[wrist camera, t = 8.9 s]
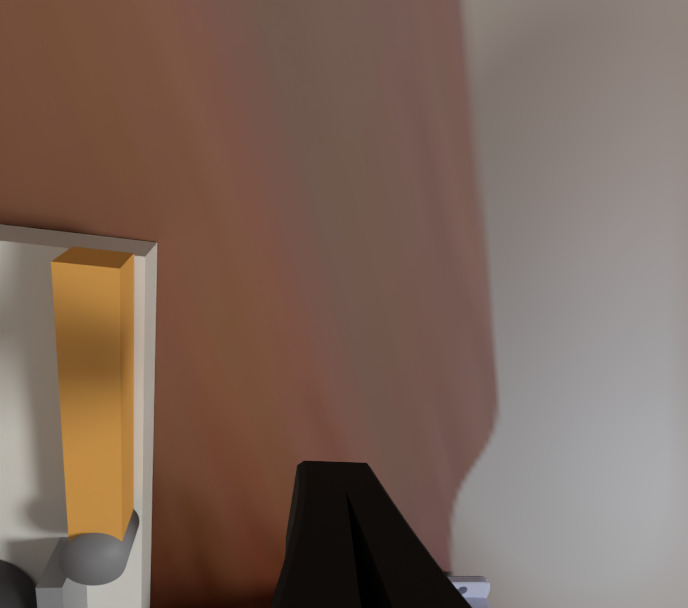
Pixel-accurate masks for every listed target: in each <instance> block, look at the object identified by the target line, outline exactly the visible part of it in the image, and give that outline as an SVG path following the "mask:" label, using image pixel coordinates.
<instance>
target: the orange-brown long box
mask: <svg viewBox="0 0 688 608" xmlns="http://www.w3.org/2000/svg"><path fill="white" fill-rule="evenodd" d="M51 269H52V285H53V301H54V317H55V333H56V349H57V364H58V380H59V396H60V412H61V428H62V443H63V459H64V475H65V491H66V507H67V523H68V538H69V539H68V541H67V543H66V545H65V548H64V550H63V552H62V554H61V556H60V559H59V566H60V569H61V571H62V573H63V574H64V575H65V576H66V577H67V578H69V579H70V580H72V581H74V582H76V583H79V584H83V585H89V586H96V585H104V584H107V583H110V582H112V581H114V580H116V579H117V578H119V577H120V576H121V575H122V574H123V572H124V570H125V568H126V565H127V561H128V558H129V555H130V552H131V549H132V546H133V543H134V539H135V536H136V533H137V530H138V527H139V516H138V514H137V512H136V511H135V510H134V253H128V252H119V251H110V250H101V249H92V248H82V247H71V248H70V249H68V250H67V251H65V252H64V253H63V254H61V255H60V256H58V257H57V258H55V259H54V260H52V261H51Z"/></svg>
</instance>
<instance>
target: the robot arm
mask: <svg viewBox="0 0 688 608" xmlns="http://www.w3.org/2000/svg"><path fill="white" fill-rule="evenodd" d="M489 590H490V584H489V582H488V580H487V578H485V577H483V576H451V577H447V576H446V574H445V573H444V572H443V570H442V569H441V568H440V567H439V565H438V564H437V563H436V561H435V560H434V559H433V557H432V556H431V555H430V553H429V552H428V551H427V549H426V548H425V546H424V545H423V544H422V542H421V541H420V540H419V538H418V537H417V536H416V534H415V533H414V531H413V530H412V529H411V527H410V526H409V524H408V523H407V522H406V520H405V519H404V517H403V516H402V514H401V513H400V511H399V510H398V508H397V507H396V506H395V504H394V503H393V501H392V500H391V498H390V497H389V495H388V494H387V492H386V491H385V489H384V487H383V486H382V484H381V483H380V481H379V480H378V478H377V477H376V475H375V474H374V472H373V471H372V469H371V468H370V466H369V465H368V464H367V463H354V462H325V461H303V462H302V463H300V464H299V465H297V471H296V477H295V483H294V490H293V496H292V502H291V509H290V515H289V521H288V528H287V534H286V553H285V560H284V564H283V567H282V571H281V574H280V577H279V580H278V584H277V587H276V590H275V593H274V597H273V600H272V603H271V606H270V608H491V607H490V604H489V602H488V600H487V596H488V593H489Z"/></svg>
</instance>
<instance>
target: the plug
mask: <svg viewBox="0 0 688 608" xmlns="http://www.w3.org/2000/svg"><path fill="white" fill-rule="evenodd" d="M0 608H37V598H36V586H35V584H34V583H33V581H32V580H31V579H30V578H29V577H28V575H26V574H25V573H24V572H23V571H21V570H20V569H18V568H17V567H15V566H13V565H11V564H9V563H6V562H4V561H1V560H0Z"/></svg>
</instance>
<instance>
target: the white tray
mask: <svg viewBox="0 0 688 608" xmlns="http://www.w3.org/2000/svg"><path fill="white" fill-rule="evenodd" d="M71 247H82V248H92V249H101V250H110V251H119V252H128V253H134V510H135V511H136V512H137V514H138V516H139V527H138V530H137V533H136V536H135V539H134V543H133V546H132V549H131V552H130V555H129V558H128V561H127V565H126V568H125V570H124V572H123V574H122V575H121V576H120V577H119V578H117V579H116V580H114V581H112V582H110V583H107V584H104V585H96V586H89V585H83V584H79V583H76V582H74V581H72V580H70V579H69V578H67V577H66V576H65V575H64V574H63V573H62V571H61V569H60V566H59V559H60V556H61V554H62V552H63V550H64V548H65V545H66V543H67V541H68V539H69V538H68V523H67V507H66V491H65V475H64V459H63V443H62V428H61V412H60V396H59V380H58V364H57V349H56V333H55V317H54V301H53V285H52V269H51V261H52V260H54V259H55V258H57V257H58V256H60V255H61V254H63V253H64V252H65V251H67V250H68V249H70V248H71ZM156 282H157V242H149V241H140V240H132V239H123V238H114V237H106V236H97V235H88V234H80V233H71V232H62V231H54V230H45V229H37V228H28V227H19V226H11V225H2V224H0V560H1V561H4V562H6V563H9V564H11V565H13V566H15V567H17V568H18V569H20V570H21V571H23V572H24V573H25V574H26V575H28V577H29V578H30V579H31V580H32V581H33V583H34V584H35V586H36V598H37V608H150V573H151V525H152V476H153V428H154V379H155V331H156Z"/></svg>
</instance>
